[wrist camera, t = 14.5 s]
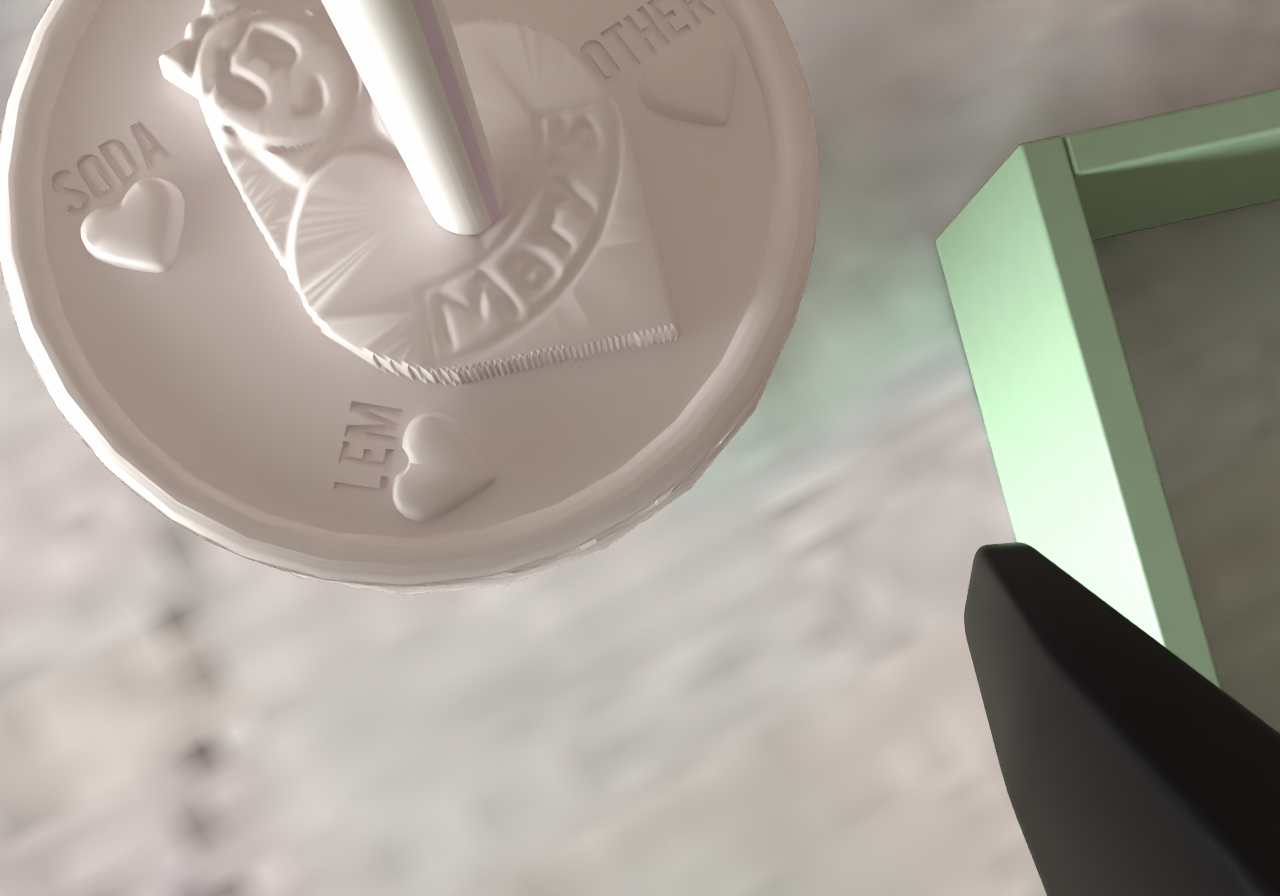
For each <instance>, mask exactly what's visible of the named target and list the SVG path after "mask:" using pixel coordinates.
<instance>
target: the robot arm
mask: <svg viewBox="0 0 1280 896" xmlns="http://www.w3.org/2000/svg"><path fill="white" fill-rule="evenodd" d="M964 624H965V632H966V638H967V642H968V646H969V649H970V653H971V657H972V661H973V665H974V669H975V672H976V676H977V680H978V684H979V688H980V691H981V695H982V699H983V703H984V707H985V710H986V714H987V718H988V722H989V726H990V729H991V733H992V737H993V741H994V745H995V748H996V752H997V756H998V760H999V764H1000V767H1001V771H1002V774H1003V778H1004V781H1005V785H1006V788H1007V792H1008V795H1009V797H1010V800H1011V803H1012V806H1013V809H1014V811H1015V814H1016V817H1017V820H1018V822H1019V825H1020V827H1021V830H1022V832H1023V835H1024V837H1025V840H1026V842H1027V845H1028V848H1029V850H1030V853H1031V855H1032V858H1033V860H1034V863H1035V865H1036V868H1037V871H1038V873H1039V876H1040V878H1041V881H1042V883H1043V886H1044V888H1045V891H1046V893H1047V896H1280V734H1279V733H1278V732H1277V731H1276V730H1274V729H1273V728H1272V727H1270V726H1269V725H1268V724H1266V723H1265V722H1264V721H1262V720H1261V719H1260V718H1258V717H1257V716H1256V715H1254V714H1253V713H1252V712H1250V711H1249V710H1248V709H1246V708H1245V707H1244V706H1242V705H1241V704H1240V703H1238V702H1237V701H1236V700H1234V699H1233V698H1232V697H1231V696H1229V695H1228V694H1227V693H1225V692H1224V691H1223V690H1221V689H1220V688H1219V687H1217V686H1216V685H1215V684H1213V683H1212V682H1211V681H1209V680H1208V679H1207V678H1205V677H1204V676H1203V675H1201V674H1200V673H1199V672H1197V671H1196V670H1195V669H1193V668H1192V667H1191V666H1190V665H1188V664H1187V663H1186V662H1184V661H1183V660H1182V659H1180V658H1179V657H1178V656H1176V655H1175V654H1174V653H1172V652H1171V651H1170V650H1168V649H1167V648H1166V647H1164V646H1163V645H1162V644H1160V643H1159V642H1158V641H1156V640H1155V639H1154V638H1152V637H1151V636H1150V635H1149V634H1147V633H1146V632H1145V631H1143V630H1142V629H1141V628H1139V627H1138V626H1137V625H1135V624H1134V623H1133V622H1131V621H1130V620H1129V619H1127V618H1126V617H1125V616H1123V615H1122V614H1121V613H1119V612H1118V611H1117V610H1115V609H1114V608H1113V607H1111V606H1110V605H1109V604H1107V603H1106V602H1105V601H1104V600H1102V599H1101V598H1100V597H1098V596H1097V595H1096V594H1094V593H1093V592H1092V591H1090V590H1089V589H1088V588H1086V587H1085V586H1084V585H1082V584H1081V583H1080V582H1078V581H1077V580H1076V579H1074V578H1073V577H1072V576H1070V575H1069V574H1068V573H1066V572H1065V571H1064V570H1063V569H1061V568H1060V567H1059V566H1057V565H1056V564H1055V563H1053V562H1052V561H1051V560H1049V559H1048V558H1047V557H1045V556H1044V555H1043V554H1041V553H1040V552H1039V551H1037V550H1036V549H1035V548H1033V547H1032V546H1030V545H1028V544H1026V543H1021V542H1015V543H1003V544H991V545H985V546H982V547H980V548H979V549H978V551H977V552H976V554H975V557H974V561H973V566H972V572H971V578H970V583H969V589H968V594H967V600H966V605H965V612H964Z"/></svg>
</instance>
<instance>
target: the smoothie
mask: <svg viewBox="0 0 1280 896" xmlns="http://www.w3.org/2000/svg"><path fill="white" fill-rule="evenodd" d="M818 209H819V156H818V146H817V136H816V126H815V121H814V116H813V111H812V107H811V102H810V97H809V92H808V88H807V84H806V81H805V78H804V75H803V72H802V68H801V65H800V62H799V59H798V56H797V52H796V50H795V48H794V45H793V43H792V41H791V38H790V36H789V34H788V31H787V29H786V27H785V24H784V22H783V20H782V17H781V16H780V14H779V12H778V10H777V8H776V7H775V5H774V3H773V1H772V0H51V1H50V3H49V4H48V6H47V8H46V10H45V12H44V14H43V15H42V17H41V19H40V21H39V23H38V25H37V26H36V28H35V30H34V32H33V34H32V37H31V39H30V41H29V44H28V46H27V48H26V51H25V53H24V55H23V58H22V60H21V63H20V65H19V67H18V70H17V74H16V77H15V80H14V83H13V86H12V90H11V93H10V96H9V99H8V102H7V106H6V111H5V116H4V121H3V126H2V131H1V136H0V264H1V269H2V274H3V279H4V283H5V288H6V293H7V297H8V301H9V304H10V307H11V310H12V313H13V316H14V319H15V322H16V325H17V328H18V331H19V334H20V337H21V339H22V341H23V343H24V346H25V348H26V350H27V352H28V355H29V357H30V359H31V361H32V364H33V366H34V368H35V370H36V372H37V374H38V376H39V377H40V379H41V381H42V383H43V384H44V386H45V388H46V390H47V391H48V393H49V395H50V396H51V398H52V400H53V402H54V403H55V405H56V407H57V408H58V409H59V411H60V412H61V413H62V415H63V416H64V418H65V419H66V420H67V422H68V423H69V424H70V426H71V427H72V429H73V430H74V431H75V433H76V434H77V435H78V437H79V438H80V439H81V440H82V441H83V443H84V444H85V445H86V446H87V447H88V448H89V449H90V450H91V451H92V453H93V454H94V455H95V456H96V457H97V458H98V459H99V460H100V461H101V462H102V464H103V465H104V466H105V467H106V468H107V469H108V470H109V471H110V472H111V473H113V474H114V475H115V476H116V477H117V478H118V479H119V480H120V481H121V482H123V483H124V484H125V485H126V486H127V487H128V488H129V489H130V490H131V491H133V492H134V493H135V494H136V495H137V496H138V497H140V498H141V499H143V500H144V501H145V502H147V503H148V504H149V505H151V506H152V507H154V508H155V509H156V510H158V511H159V512H160V513H162V514H163V515H165V516H166V517H167V518H169V519H170V520H172V521H173V522H175V523H177V524H179V525H180V526H182V527H184V528H186V529H187V530H189V531H191V532H192V533H194V534H196V535H198V536H199V537H201V538H203V539H205V540H206V541H208V542H211V543H213V544H215V545H217V546H220V547H222V548H224V549H226V550H228V551H231V552H233V553H235V554H237V555H240V556H242V557H244V558H247V559H250V560H253V561H256V562H259V563H262V564H265V565H268V566H271V567H274V568H277V569H280V570H283V571H287V572H289V573H291V574H293V575H295V576H297V577H300V578H306V579H311V580H317V581H323V582H329V583H335V584H340V585H346V586H352V587H358V588H364V589H370V590H375V591H381V592H387V593H393V594H399V595H409V594H420V593H431V592H441V591H452V590H463V589H474V588H484V587H495V586H506V585H509V584H512V583H515V582H518V581H520V580H523V579H526V578H528V577H531V576H534V575H536V574H539V573H542V572H545V571H547V570H550V569H553V568H555V567H558V566H561V565H563V564H566V563H569V562H572V561H574V560H577V559H580V558H582V557H585V556H588V555H590V554H593V553H596V552H599V551H601V550H604V549H606V548H607V547H609V546H610V545H612V544H613V543H615V542H616V541H617V540H619V539H620V538H622V537H623V536H624V535H626V534H627V533H629V532H630V531H631V530H633V529H634V528H636V527H637V526H639V525H640V524H641V523H643V522H644V521H646V520H647V519H648V518H650V517H651V516H653V515H654V514H655V513H657V512H658V511H660V510H661V509H663V508H664V507H665V506H667V505H668V504H670V503H671V502H672V501H674V500H675V499H677V498H678V497H679V496H681V495H682V494H684V493H685V492H687V491H688V490H689V489H690V488H691V487H692V486H693V485H694V484H695V482H696V481H697V480H698V479H699V478H700V476H701V475H702V474H703V473H704V471H705V470H706V469H707V468H708V467H709V465H710V464H711V463H712V462H713V461H714V459H715V458H716V457H717V456H718V455H719V453H720V452H721V451H722V450H723V448H724V447H725V446H726V445H727V444H728V442H729V441H730V440H731V439H732V438H733V436H734V435H735V434H736V433H737V432H738V430H739V429H740V428H741V427H742V426H743V424H744V423H745V422H746V421H747V419H748V418H749V417H750V416H751V415H752V413H753V412H754V411H755V409H756V407H757V404H758V402H759V400H760V398H761V396H762V393H763V391H764V389H765V387H766V385H767V382H768V380H769V378H770V376H771V374H772V371H773V369H774V367H775V365H776V362H777V360H778V358H779V356H780V354H781V351H782V349H783V347H784V345H785V343H786V340H787V338H788V336H789V334H790V332H791V329H792V327H793V325H794V323H795V320H796V314H797V310H798V307H799V304H800V301H801V297H802V294H803V291H804V288H805V285H806V282H807V278H808V273H809V268H810V264H811V259H812V254H813V249H814V244H815V238H816V229H817V219H818Z"/></svg>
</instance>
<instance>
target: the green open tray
mask: <svg viewBox="0 0 1280 896" xmlns="http://www.w3.org/2000/svg"><path fill="white" fill-rule="evenodd" d="M1277 199H1280V88H1279V89H1274V90H1269V91H1265V92H1260V93H1256V94H1251V95H1246V96H1242V97H1237V98H1232V99H1228V100H1223V101H1218V102H1214V103H1209V104H1205V105H1200V106H1195V107H1191V108H1186V109H1181V110H1177V111H1172V112H1168V113H1163V114H1158V115H1154V116H1149V117H1144V118H1140V119H1135V120H1130V121H1126V122H1121V123H1117V124H1112V125H1107V126H1103V127H1098V128H1093V129H1089V130H1084V131H1079V132H1075V133H1070V134H1066V135H1065V136H1063V137H1061V136H1054V137H1050V138H1045V139H1040V140H1036V141H1031V142H1027V143H1022V144H1020V145H1019V146H1018V147H1017V148H1016V149H1015V150H1014V151H1013V153H1012V154H1011V155H1010V156H1009V157H1008V158H1007V159H1006V161H1005V162H1004V163H1003V164H1002V165H1001V166H1000V167H999V169H998V170H997V171H996V172H995V173H994V174H993V175H992V177H991V178H990V179H989V180H988V181H987V182H986V183H985V184H984V186H983V187H982V188H981V189H980V190H979V191H978V192H977V194H976V195H975V196H974V197H973V198H972V199H971V200H970V202H969V203H968V204H967V205H966V206H965V207H964V208H963V209H962V211H961V212H960V213H959V214H958V215H957V216H956V217H955V219H954V220H953V221H952V222H951V223H950V224H949V225H948V227H947V228H946V229H945V230H944V231H943V232H942V233H941V235H940V236H939V237H938V238H937V239H936V245H937V249H938V253H939V257H940V260H941V264H942V268H943V271H944V275H945V279H946V282H947V286H948V290H949V293H950V297H951V301H952V305H953V308H954V312H955V316H956V319H957V323H958V327H959V330H960V334H961V338H962V341H963V345H964V349H965V353H966V356H967V360H968V364H969V367H970V371H971V375H972V378H973V382H974V386H975V389H976V393H977V397H978V401H979V404H980V408H981V412H982V415H983V419H984V423H985V426H986V430H987V434H988V438H989V441H990V445H991V449H992V452H993V456H994V460H995V463H996V467H997V471H998V474H999V478H1000V482H1001V486H1002V489H1003V493H1004V497H1005V500H1006V504H1007V508H1008V511H1009V515H1010V519H1011V522H1012V526H1013V530H1014V534H1015V537H1016V541H1017V542H1021V543H1026V544H1028V545H1030V546H1032V547H1033V548H1035V549H1036V550H1037V551H1039V552H1040V553H1041V554H1043V555H1044V556H1045V557H1047V558H1048V559H1049V560H1051V561H1052V562H1053V563H1055V564H1056V565H1057V566H1059V567H1060V568H1061V569H1063V570H1064V571H1065V572H1066V573H1068V574H1069V575H1070V576H1072V577H1073V578H1074V579H1076V580H1077V581H1078V582H1080V583H1081V584H1082V585H1084V586H1085V587H1086V588H1088V589H1089V590H1090V591H1092V592H1093V593H1094V594H1096V595H1097V596H1098V597H1100V598H1101V599H1102V600H1104V601H1105V602H1106V603H1107V604H1109V605H1110V606H1111V607H1113V608H1114V609H1115V610H1117V611H1118V612H1119V613H1121V614H1122V615H1123V616H1125V617H1126V618H1127V619H1129V620H1130V621H1131V622H1133V623H1134V624H1135V625H1137V626H1138V627H1139V628H1141V629H1142V630H1143V631H1145V632H1146V633H1147V634H1149V635H1150V636H1151V637H1152V638H1154V639H1155V640H1156V641H1158V642H1159V643H1160V644H1162V645H1163V646H1164V647H1166V648H1167V649H1168V650H1170V651H1171V652H1172V653H1174V654H1175V655H1176V656H1178V657H1179V658H1180V659H1182V660H1183V661H1184V662H1186V663H1187V664H1188V665H1190V666H1191V667H1192V668H1193V669H1195V670H1196V671H1197V672H1199V673H1200V674H1201V675H1203V676H1204V677H1205V678H1207V679H1208V680H1209V681H1211V682H1212V683H1213V684H1215V685H1216V686H1217V687H1219V688H1220V689H1221V690H1222V688H1221V684H1220V681H1219V678H1218V674H1217V671H1216V667H1215V664H1214V660H1213V657H1212V653H1211V650H1210V646H1209V643H1208V640H1207V636H1206V633H1205V629H1204V626H1203V622H1202V619H1201V615H1200V612H1199V608H1198V605H1197V602H1196V598H1195V595H1194V591H1193V588H1192V584H1191V581H1190V577H1189V574H1188V570H1187V567H1186V564H1185V560H1184V557H1183V553H1182V550H1181V546H1180V543H1179V539H1178V536H1177V532H1176V529H1175V526H1174V522H1173V519H1172V515H1171V512H1170V508H1169V505H1168V501H1167V498H1166V494H1165V491H1164V488H1163V484H1162V481H1161V477H1160V474H1159V470H1158V467H1157V463H1156V460H1155V456H1154V453H1153V450H1152V446H1151V443H1150V439H1149V436H1148V432H1147V429H1146V425H1145V422H1144V418H1143V415H1142V412H1141V408H1140V405H1139V401H1138V398H1137V394H1136V391H1135V387H1134V384H1133V380H1132V377H1131V374H1130V370H1129V367H1128V363H1127V360H1126V356H1125V353H1124V349H1123V346H1122V342H1121V339H1120V336H1119V332H1118V329H1117V325H1116V322H1115V318H1114V315H1113V311H1112V308H1111V304H1110V301H1109V298H1108V294H1107V291H1106V287H1105V284H1104V280H1103V277H1102V273H1101V270H1100V266H1099V263H1098V260H1097V256H1096V253H1095V249H1094V246H1093V242H1092V240H1096V239H1100V238H1105V237H1109V236H1114V235H1118V234H1123V233H1127V232H1132V231H1137V230H1141V229H1146V228H1150V227H1155V226H1159V225H1164V224H1168V223H1173V222H1177V221H1182V220H1187V219H1191V218H1196V217H1200V216H1205V215H1209V214H1214V213H1218V212H1223V211H1227V210H1232V209H1236V208H1241V207H1246V206H1250V205H1255V204H1259V203H1264V202H1268V201H1273V200H1277Z"/></svg>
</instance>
